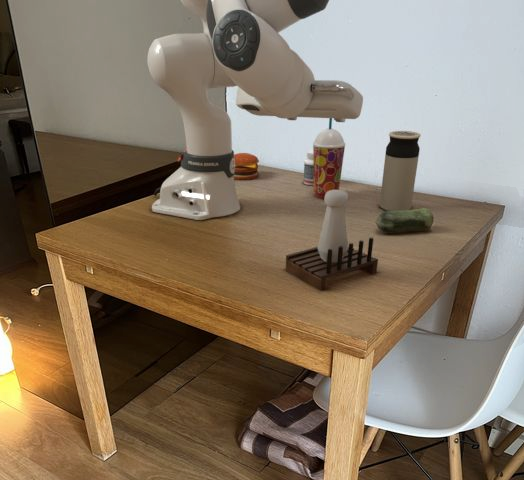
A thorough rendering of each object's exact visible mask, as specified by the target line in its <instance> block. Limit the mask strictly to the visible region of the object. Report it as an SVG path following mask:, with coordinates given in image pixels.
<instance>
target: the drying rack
mask: <svg viewBox="0 0 524 480" xmlns="http://www.w3.org/2000/svg"><path fill="white" fill-rule="evenodd" d="M367 245H368V246H367V253H364V252H363V250H364V240H362V239H361V240H359V241H358V249H355V248H354V243H353V242H349V243H348V250H347V253H346V254H345V256H344V258H343V260H342V254H343V247H342V246H339V248H338V261H337V262H336V263H333V262H332V249H328V256H327V262H326V261H324V260H322V259H321V257H320V254H319V251H318V246H315V247H312V248H308V249H303V250H301V251H300V250H299V251H296V252H293V253H289V254H286V255H285V271H286V272H288V273H290V274H291V275H293V276H295V277H296V278H298V279H300V280H301V281H303V282H305V283H307V284H309V285H310V286H312V287H314V288H315V289H317V290H318V291H325V290H326V289H327V279H329V278H333V277H335V276H339V275H342V274H345V273H348V272H352V271H354V270H358V269H359V270H363V271H364V272H367V273H369V274H371V275H375V274H377V271H378V264H379V263H378V262H379V259H378V258H377V257H373V256H372V254H373V246H374V237H369V238H368V244H367Z"/></svg>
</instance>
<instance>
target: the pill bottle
mask: <svg viewBox="0 0 524 480" xmlns="http://www.w3.org/2000/svg"><path fill="white" fill-rule="evenodd" d="M306 157H307V158H306V159H305V160H304V162H303V163H304V164H303V184H305V185H306V186H314V164H313V149H311V150H307V151H306Z"/></svg>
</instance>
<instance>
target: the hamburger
mask: <svg viewBox="0 0 524 480" xmlns="http://www.w3.org/2000/svg"><path fill="white" fill-rule="evenodd" d="M234 159H235V173H234V180H237V181H248V180H253V179H256V178H257V177H259V173H258V169H259V165H258V163H259V162H260V160H259V158H258V156H256V155H254V154H252V153H248V152H239V153H234Z"/></svg>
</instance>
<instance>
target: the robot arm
mask: <svg viewBox="0 0 524 480" xmlns="http://www.w3.org/2000/svg"><path fill="white" fill-rule="evenodd" d="M179 1H180V3H181V4H182V6H183V7H184V8H185V9H187V10H188V11H190V12H191V13H193V14H194V15H196V16H197V17H199V18H200V19H201V22H202V25H203V26H202V27H203V32H200V33H195V32H194V33H171V34H169V35H165V36H161V37H158V38H155V39H154V40H153V41H152V42H151V44H150V46H149V49H148V51H147V58H146V62H147V69H148V73H149V74H150V77H151V78H152V80H153V82H154V83H155V84H156V85H157V86H158V87H159V88H160V89H162V90H164V92H166V93H167V94H168V95H169V96H170V97H171V98H172V100H173V101H174V103H175V104H176V106H177V108H178V110H179V113H180V116H181V119H182V123H183V129H184V139H185V147H186V149H185V150H184V151H183V152H182V153H180V154H179V156H177V162H178V163H179V162H180V167H179V168H178V169H176V170H175V171H174V172H173V173H172V174H171V175H170V176H168V177H167V178H166V179H165V180H164V181H163V182H162V184H161V185H160V187H158V188H156V189H155V191H154V193H153V196H154V197H157V196H158V193H159V198H158V199H156V200H155V201H154V202H153V203H152V204H151V211H152V212H153V213H158V214H161V215H162V214H163V215H168V216H174V217H180V218H184V219H185V218H186V219H190V220H196V221H204V220H208V219H212V218H220V217H226V216H230V215H233V214H235V213H237V212H238V211H240V209H241V205H240V201H239V198H238V195H237V194H238V193H237V188H236V182H235V179H234V173H235V159H234V154H235V151H234V150H233V136H232V135H233V133H232V132H233V131H232V120H231V116H230V115H229V113H228V112H227V111H226V110H225V109H223V108H222V107H220V106H218V105H217V104H215V103H212V102H211V101H210V99H209V96H208V90H209V89H217V88H218V89H219V88H220V89H221V88H233V87H237V90H236V97H235V98H236V101H235V106H236V107H238V108H239V109H241V110H244V111H246V112H248V113H249V114H251V115H254V116H259V117H276V118H278V119H285V120H287V121H297V119H298V118H313V119H329V118H332V119H333V121H335V122H336V123H346V120H356V119H358V118H359V117H360V116H361V113H362V109H363V103H364V96H363V95H362V94H361V92H360V91H359V90H358V89H357V88H355V87H354V86H353V85H352V84H351V83H349V82H347V81H344V80H338V79H337V80H335V79H334V80H332V79H331V80H329V79H327V80H326V79H324V80H323V79H321V80H319V79H318V80H317V79H315V74H314V73H313V70H312V69H311V68H310V67H309V66H308V64H306V62H305V61H304V59H302V58H301V56H300V55H299V54H298V53H297V52H296V51H294V50H293V49H292V48H291V47H290V45H289V44H288V42H287V40H286V39H284V37H283V36H282V35H281V34H280V33H281V32H282V31H284V30H286V29H287V28H289V27H291V26H292V25H294V24H296V23H298V22H300V21H301V20H304V19H307V18H309V17H312V16H313V15H315V14H317V13H320V12H322V11H324V10H325V9H326V8H327V6H328V4H329V2H330V0H179Z"/></svg>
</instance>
